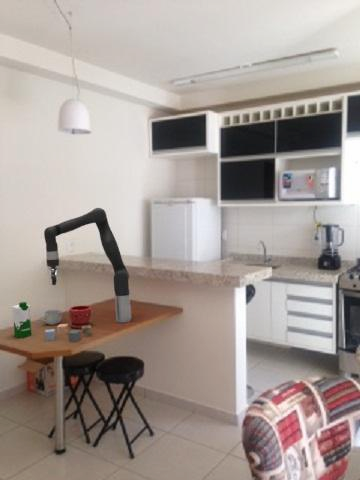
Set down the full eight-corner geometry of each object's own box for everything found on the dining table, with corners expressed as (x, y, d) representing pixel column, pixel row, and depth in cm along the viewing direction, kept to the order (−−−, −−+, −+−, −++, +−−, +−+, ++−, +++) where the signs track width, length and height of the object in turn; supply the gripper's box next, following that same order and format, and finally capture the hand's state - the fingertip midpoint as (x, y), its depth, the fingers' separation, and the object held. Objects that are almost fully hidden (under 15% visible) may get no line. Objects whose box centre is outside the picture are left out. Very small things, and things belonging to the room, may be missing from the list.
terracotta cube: (68, 332, 256) (68, 324, 255) (65, 334, 251) (65, 326, 250) (60, 332, 256) (59, 324, 255) (57, 334, 251) (57, 326, 251)
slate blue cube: (55, 337, 247) (54, 328, 246) (55, 339, 242) (54, 331, 242) (46, 338, 245) (45, 329, 245) (46, 341, 240) (45, 332, 240)
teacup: (58, 320, 282) (57, 308, 282) (65, 323, 274) (64, 311, 273) (37, 324, 274) (36, 312, 273) (43, 328, 265) (43, 315, 265)
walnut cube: (91, 333, 251) (91, 325, 251) (91, 336, 247) (90, 327, 246) (83, 334, 251) (82, 325, 250) (82, 336, 246) (81, 328, 245)
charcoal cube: (81, 339, 242) (80, 330, 241) (76, 342, 237) (76, 333, 236) (73, 338, 243) (73, 330, 243) (68, 341, 238) (68, 332, 238)
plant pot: (80, 330, 258) (79, 311, 257) (65, 327, 265) (64, 308, 264) (96, 324, 269) (95, 306, 268) (81, 322, 276) (80, 304, 275)
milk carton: (20, 339, 245) (17, 304, 243) (12, 336, 251) (9, 302, 249) (33, 335, 252) (31, 301, 250) (25, 332, 258) (23, 299, 256)
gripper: (58, 259, 263) (60, 285, 264) (59, 256, 276) (61, 281, 278) (45, 260, 261) (47, 286, 262) (47, 257, 275) (49, 282, 276)
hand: (54, 283), depth 270 cm, fingers open, 8 cm apart
